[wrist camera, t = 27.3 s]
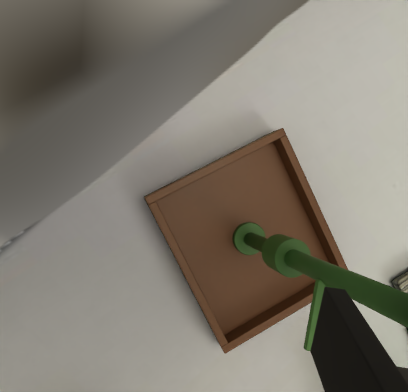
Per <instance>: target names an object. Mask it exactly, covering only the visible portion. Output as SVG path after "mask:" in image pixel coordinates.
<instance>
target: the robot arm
mask: <svg viewBox="0 0 408 392" xmlns="http://www.w3.org/2000/svg"><path fill="white" fill-rule="evenodd" d="M310 351H311V354H312V356H313V359H314V362H315V365H316V368H317V371H318V373H319V376H320V379H321V382H322V385H323V388H324V390H325V392H408V368H402V367H396V365H395V364H394V362H393V361H392V359H391V358H390V356H389V355H388V353H387V352H386V350H385V349H384V347H383V346H382V344H381V343H380V341H379V340H378V338H377V337H376V335H375V334H374V332H373V331H372V329H371V328H370V326H369V325H368V323H367V322H366V320H365V319H364V317H363V316H362V314H361V313H360V311H359V310H358V308H357V307H356V305H355V304H354V302H353V301H352V299H351V298H350V296H349V295H348V293H347V292H346V290H345V289H339V288H332V287H325V288H324V292H323V297H322V301H321V306H320V310H319V314H318V319H317V323H316V328H315V332H314V337H313V341H312V346H311V350H310Z"/></svg>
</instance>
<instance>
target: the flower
mask: <svg viewBox="0 0 408 392" xmlns="http://www.w3.org/2000/svg"><path fill="white" fill-rule="evenodd" d="M233 244H234V246H235V248H236V249H237V250H238V251H239V252H241V253H243V254H245V255H254V254H256V253H258V252H259V251H260V252H262V259H263V261H264V262H265V264H266V265H267V266H268V267H270V268H272V269H273V270H275V271H277V272H278V273H280V274H282V275H284V276H286V277H289V278H294V277H298V276H300V275H302V274H304V275H306V276H308V277H310V278H312V279H314V280H316V281H315V286H314V292H313V298H312V303H311V309H310V315H309V320H308V326H307V332H306V337H305V343H304V349H305V350H307V351H310V350H311V346H312V341H313V337H314V332H315V328H316V323H317V319H318V314H319V310H320V306H321V301H322V297H323V292H324V288H325V287H332V288H339V289H345V290H346V292H347V293H348V295H349V296H350V298H351V299H353V300H355V301H357V302H359V303H361V304H363V305H365V306H367V307H369V308H370V309H372V310H374V311H376V312H378V313H380V314H382V315H384V316H386V317H388V318H390V319H392V320H394V321H396V322H398V323H400V324H402V325H404V326H405V327H407V328H408V293H405V292H403V291H400V290H398V289H395V288H392V287H390V286H387V285H385V284H382V283H380V282H377V281H375V280H372V279H369V278H367V277H364V276H362V275H359V274H357V273H354V272H352V271H349V270H346V269H344V268H341V267H339V266H336V265H334V264H331V263H329V262H326V261H323V260H321V259H318V258H316V257H313V256H311V253H310V250H309V248H308V246H307V245H306V244H305V243H304V242H303V241H301V240H298V239H295V238H292V237H289V236H286V235H283V234H275V235H272V236H270V237H269V238H268V239H267V238H266V237H265V233H264V230H263V229H262V228H261V227H260V226H259V225H257V224H255V223H252V222H245V223H242V224H240V225H239V226H238V227H237V228H236V229H235V231H234V233H233Z"/></svg>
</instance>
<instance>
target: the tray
mask: <svg viewBox="0 0 408 392" xmlns="http://www.w3.org/2000/svg"><path fill="white" fill-rule="evenodd" d="M144 198H145V200H146V202H147V204H148V206H149V208H150V210H151V212H152V214H153V216H154V218H155V220H156V222H157V224H158V226H159V228H160V230H161V232H162V233H163V235H164V237H165V239H166V241H167V243H168V245H169V247H170V249H171V251H172V253H173V255H174V257H175V259H176V261H177V263H178V265H179V267H180V269H181V270H182V272H183V274H184V276H185V278H186V280H187V282H188V284H189V286H190V288H191V290H192V292H193V294H194V296H195V298H196V300H197V302H198V304H199V305H200V307H201V309H202V311H203V313H204V315H205V317H206V319H207V321H208V323H209V325H210V327H211V329H212V331H213V333H214V335H215V337H216V339H217V341H218V342H219V344H220V346H221V348H222V350H223V351H224V353H227V352H229V351H230V350H232V349H234V348H235V347H237V346H239V345H240V344H242V343H244V342H245V341H247V340H249V339H250V338H252V337H254V336H256V335H257V334H259V333H261V332H262V331H264V330H266V329H267V328H269V327H271V326H272V325H274V324H276V323H277V322H279V321H281V320H282V319H284V318H286V317H287V316H289V315H291V314H292V313H294V312H296V311H298V310H299V309H301V308H303V307H304V306H306V305H308V304H309V303H311V302H312V298H313V292H314V286H315V281H316V280H314V279H312V278H310V277H308V276H306V275H304V274H302V275H300V276H298V277H294V278H289V277H286V276H284V275H282V274H280V273H278V272H277V271H275V270H273V269H272V268H270V267H268V266H267V265H266V264H265V262H264V261H263V259H262V252H260V251H259V252H258V253H256V254H254V255H245V254H243V253H241V252H239V251H238V250H237V249H236V248H235V246H234V244H233V233H234V231H235V229H236V228H237V227H238V226H239V225H240V224H242V223H245V222H252V223H255V224H257V225H259V226H260V227H261V228H262V229H263V230H264V233H265V237H266V238H267V239H268V238H269V237H270V236H272V235H275V234H283V235H286V236H289V237H292V238H295V239H298V240H301V241H303V242H304V243H305V244H306V245H307V246H308V248H309V250H310V253H311V256H313V257H316V258H318V259H321V260H323V261H326V262H329V263H331V264H334V265H336V266H339V267H341V268H344V269H346V270H348V268H347V266H346V264H345V262H344V260H343V258H342V255H341V253H340V251H339V249H338V247H337V244H336V242H335V240H334V238H333V236H332V234H331V231H330V229H329V227H328V225H327V223H326V220H325V218H324V216H323V214H322V212H321V210H320V207H319V205H318V203H317V201H316V199H315V196H314V194H313V192H312V190H311V188H310V186H309V183H308V181H307V179H306V177H305V175H304V172H303V170H302V168H301V166H300V164H299V162H298V159H297V157H296V155H295V153H294V151H293V149H292V146H291V144H290V142H289V140H288V138H287V136H286V133H285V131H284V129H283V128H281V129H279V130H276V131H273V132H271V133H269V134H267V135H265V136H263V137H261V138H259V139H257V140H255V141H253V142H251V143H249V144H247V145H246V146H244V147H242V148H240V149H238V150H236V151H234V152H232V153H230V154H228V155H226V156H224V157H222V158H220V159H218V160H216V161H214V162H212V163H210V164H208V165H206V166H204V167H202V168H200V169H198V170H196V171H194V172H192V173H190V174H188V175H186V176H184V177H182V178H180V179H178V180H176V181H174V182H172V183H170V184H168V185H166V186H164V187H162V188H160V189H158V190H156V191H154V192H152V193H150V194H148V195H146V196H144Z"/></svg>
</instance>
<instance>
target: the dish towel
mask: <svg viewBox="0 0 408 392" xmlns="http://www.w3.org/2000/svg"><path fill="white" fill-rule="evenodd" d="M392 283H393V285H394V287H395V289H398V290H400V291H403V292H405V293H408V272H406V273H404V274H403V275H401V276H400V277H398V278H396V279H394V280H393V281H392Z"/></svg>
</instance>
